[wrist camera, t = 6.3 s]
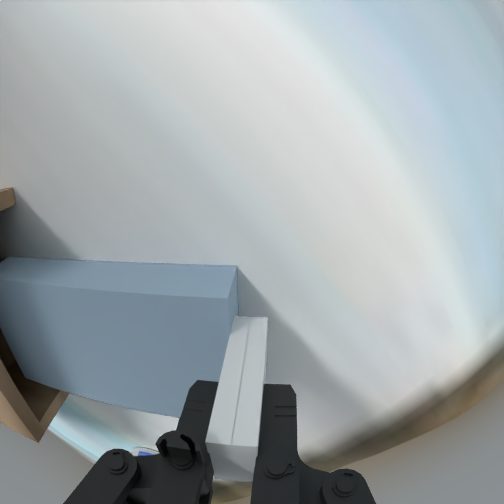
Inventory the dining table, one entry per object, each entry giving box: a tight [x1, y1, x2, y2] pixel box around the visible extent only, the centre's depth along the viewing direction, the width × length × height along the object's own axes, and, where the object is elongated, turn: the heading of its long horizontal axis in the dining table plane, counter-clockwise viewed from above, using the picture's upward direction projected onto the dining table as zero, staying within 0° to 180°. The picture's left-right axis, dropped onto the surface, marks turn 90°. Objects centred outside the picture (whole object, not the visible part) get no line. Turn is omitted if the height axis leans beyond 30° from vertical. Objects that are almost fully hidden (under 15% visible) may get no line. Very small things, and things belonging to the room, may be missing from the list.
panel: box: [0, 257, 239, 418], centre depth 15 cm, size 15×8×3 cm, turn 91°
